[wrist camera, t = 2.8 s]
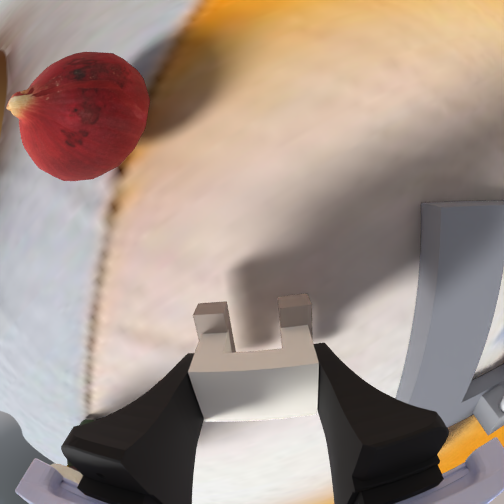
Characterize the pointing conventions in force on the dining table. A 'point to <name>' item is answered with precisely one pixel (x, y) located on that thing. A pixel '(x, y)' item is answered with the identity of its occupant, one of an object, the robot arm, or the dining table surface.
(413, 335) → the grey piece
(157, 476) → the robot arm
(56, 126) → the onion
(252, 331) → the dining table surface
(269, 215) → the dining table surface
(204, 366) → the white notched u-block
